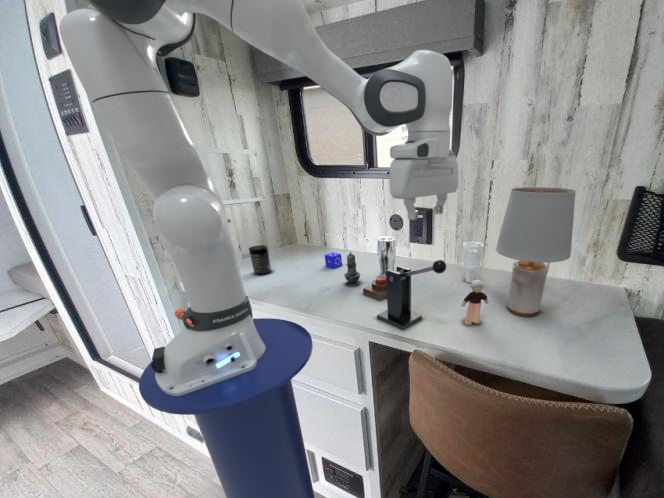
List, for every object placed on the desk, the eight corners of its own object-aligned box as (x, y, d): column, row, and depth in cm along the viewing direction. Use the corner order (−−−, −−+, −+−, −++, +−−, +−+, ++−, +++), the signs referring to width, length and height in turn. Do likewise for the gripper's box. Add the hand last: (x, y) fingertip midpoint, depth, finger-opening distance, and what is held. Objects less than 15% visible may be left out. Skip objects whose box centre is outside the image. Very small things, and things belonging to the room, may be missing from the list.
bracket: (421, 319, 87) (422, 269, 81) (403, 330, 82) (402, 278, 75) (395, 308, 93) (395, 262, 87) (377, 318, 88) (374, 269, 82)
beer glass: (375, 275, 120) (374, 237, 113) (392, 273, 122) (391, 235, 116) (382, 281, 114) (380, 241, 108) (399, 278, 116) (398, 239, 110)
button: (381, 285, 101) (381, 280, 100) (374, 283, 103) (373, 278, 102) (389, 282, 103) (389, 277, 102) (381, 280, 105) (381, 275, 105)
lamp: (482, 296, 101) (495, 187, 86) (541, 297, 100) (563, 186, 86) (497, 325, 83) (516, 194, 69) (568, 326, 83) (602, 193, 68)
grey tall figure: (352, 279, 116) (350, 248, 111) (364, 282, 113) (362, 251, 108) (341, 284, 112) (338, 252, 107) (353, 287, 109) (350, 255, 104)
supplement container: (269, 275, 121) (264, 249, 117) (251, 276, 121) (246, 250, 116) (274, 269, 128) (269, 245, 123) (257, 270, 127) (251, 245, 122)
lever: (450, 270, 72) (446, 257, 71) (442, 273, 70) (438, 260, 69) (401, 280, 84) (397, 269, 84) (393, 284, 82) (389, 272, 82)
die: (325, 266, 131) (324, 255, 128) (334, 263, 134) (333, 252, 132) (333, 268, 128) (332, 257, 126) (342, 265, 132) (341, 254, 130)
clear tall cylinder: (467, 285, 109) (471, 244, 103) (456, 279, 115) (459, 239, 109) (483, 282, 112) (488, 242, 106) (471, 276, 118) (475, 237, 112)
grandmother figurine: (466, 328, 82) (470, 284, 77) (458, 322, 85) (461, 279, 80) (489, 322, 85) (494, 279, 80) (480, 316, 88) (485, 275, 83)
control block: (379, 300, 99) (379, 289, 97) (363, 294, 104) (362, 283, 102) (400, 291, 105) (400, 280, 104) (383, 285, 110) (383, 275, 109)
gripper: (444, 150, 73) (441, 209, 79) (383, 148, 59) (385, 220, 65) (467, 149, 69) (462, 212, 75) (408, 147, 56) (407, 224, 61)
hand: (426, 216), depth 70 cm, fingers open, 8 cm apart
